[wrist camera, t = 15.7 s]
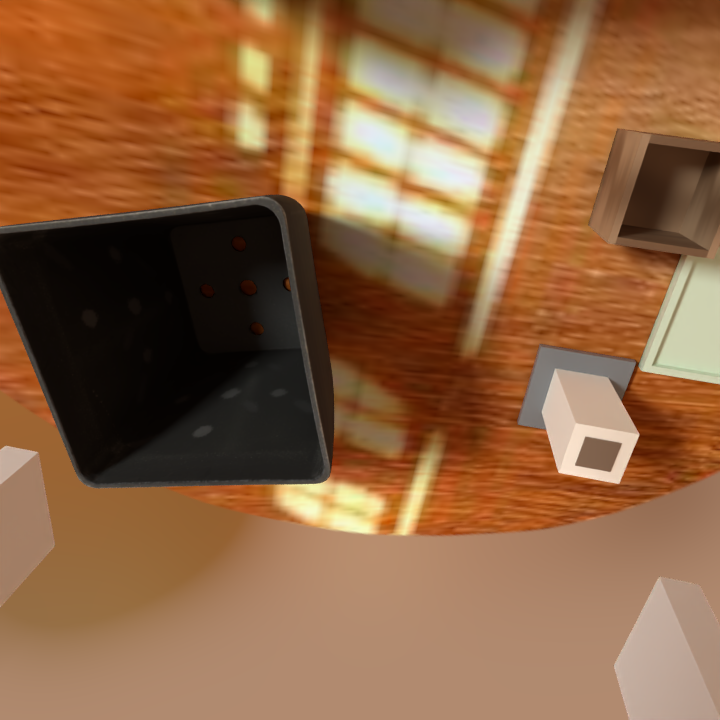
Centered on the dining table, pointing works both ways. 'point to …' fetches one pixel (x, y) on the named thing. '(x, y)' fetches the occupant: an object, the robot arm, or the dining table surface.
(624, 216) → the walnut open box
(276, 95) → the dining table surface
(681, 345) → the green tray
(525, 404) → the slate coaster
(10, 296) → the flower pot
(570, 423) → the cream square pillar
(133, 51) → the dining table surface
